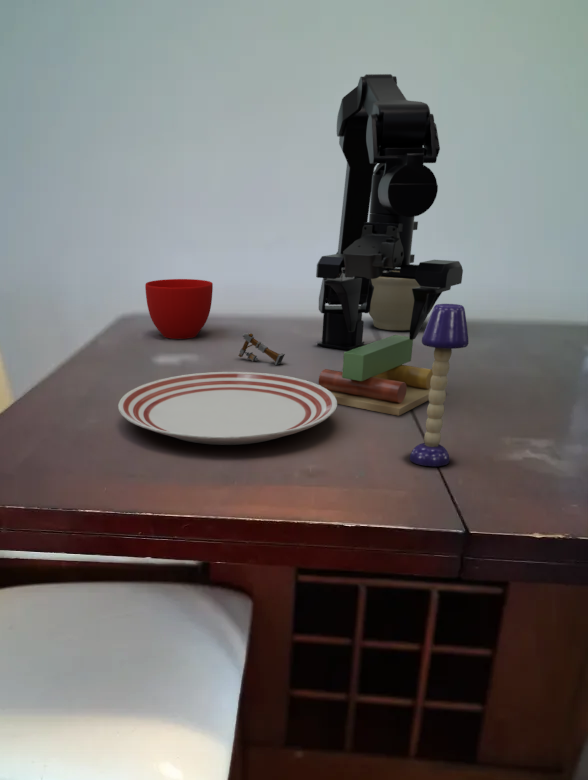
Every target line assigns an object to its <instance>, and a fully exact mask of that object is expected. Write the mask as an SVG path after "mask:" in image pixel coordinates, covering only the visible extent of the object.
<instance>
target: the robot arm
mask: <svg viewBox="0 0 588 780" xmlns="http://www.w3.org/2000/svg"><path fill="white" fill-rule="evenodd" d="M397 78H398V77H397V76H395V75H394V76H393V75H392V74H391V73H383V74H381V73H380V74H379V73H377V74H376V73H375V74H374V73H373V74H372V73H368V74H365V75H364V76H359V80H358V82H357V86H356V87H354V88H353V89H351V91H349V92H348V93H347V94H346V95H344V96H343V97H342V98H341V102H340V105H339V109H338V112H337V116H336V117H337V118H336V137H338V145H339V148H340V150H341V151H342V154H343V156H344V158H345V160H346V169H345V179H344V187H343V197H342V209H341V217H340V226H339V236H338V246H337V251H336V253H335V254H327V255H323V256H321V257H320V259H319V260H318V262H317V263H316V269H315V270H316V271H315V272H316V274H315V276H316V278H318V279H322V281H321V284H320V289H319V294H318V311H319V312H320V313H321V314H323V315H322V317H323V318H322V333H321V334H322V335H321V341H319V342H317V344H316V346H319V347H325V348H332V349H339V350H345V351H350V350H352V349H355V348H358V347H361V346H364V345H365V341H363V336H364V323H365V321H364V320H363V314H369V313H368V312H370V305H371V299H372V295H373V291H374V286H373V285H372V280H371V279H376V278H378V277H393V278H406V279H415V280H416V281H417V283H418V284H419V285H420V287H417V288H413V289H412V292H413V296H414V305H413V312H412V318H411V324H410V330H409V337H410V340H413V341H414V340H416V338H417V337H418V335H419V333H420V331H421V329H422V327H423V325H424V323H425V321H426V319H427V318H428V316H429V314H430V313H431V311H432V310H431V308H432V307H433V308H434V306H435V305H436V302H437V301H438V299H439V298H440V297H441V296H442V293H444V292H447V291H451V288H452V287H453V286H456V285H457V286H458V285H460V284H462V281H463V273H464V269H463V267H462V266H463V265H462V264H461V262H460V261H459V260H449V259H448V260H447V259H445V260H444V259H430V260H425V261H420V262H419V263H418V264H413V263H415V254H412V246H413V234H414V231H417V230H418V226H419V221H415V218H416V217H419V216H420V215H423V214H424V213H426V212H427V211H428V210H429V209H430V208H431V207H432V206H433V204H434V202H435V200H436V199H437V195H438V190H439V186H438V181H437V177H436V175H435V173H434V172H433V171H432V170H431V168H430V167H428V166H427V165H425V164H437V160H438V159H437V158H438V157H439V154H440V150H441V147H440V139H439V134H438V126H437V123H435V117H434V114H433V113H431V108H430V106H429V104H428V103H426V102H423V101H418V100H408V99H407V98H406V97H405V95H404V94H403V92H402V90H401V89H400V88H399V86H398V79H397ZM393 271H400V272H393ZM326 304H328V305H326ZM433 305H434V306H433ZM433 308H432V309H433ZM430 310H431V311H430ZM429 312H430V313H429Z"/></svg>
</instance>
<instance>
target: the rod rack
mask: <svg viewBox="0 0 588 780" xmlns="http://www.w3.org/2000/svg"><path fill="white" fill-rule="evenodd" d="M342 374H343V371H340V370H333V369H328V368H324V369H322V370H321V372H320V374H319V376H318V385H320V386H322V387H324V388H326V389H327V390H329V391H330V392H331V393H332V394H333V395H334V396H335V398H336V400H337V405H341V406H347V407H351V408H356V409H362V410H368V411H372V412H377V413H382V414H388V415H393V416H398V417H399V416H402V415H403V414H405V413H407V412H409V411H411V410H413V409H415V408H417V407H418V406H421V405H422V404H424V403H427V402H429V392H430V390H431V386H430V381H431V377H432V375H433V372H432V368H427V367H426V368H425V367H419V366H414V365H408V364H407V365H405V364H402V365H400V366H398V367H395V368H393V369H390V370H388V371H385V372H383V373H381V374H378V375H376V376H373V377H371V378H369V379H366V380H364V381H357V380H351V379H345V378H342Z"/></svg>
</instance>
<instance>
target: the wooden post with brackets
mask: <svg viewBox="0 0 588 780" xmlns="http://www.w3.org/2000/svg"><path fill="white" fill-rule="evenodd" d="M242 337H243V340H245V341H244V343H243V346H242V348H240V351H239V353H238V357H239V358H243V357H244V355H245V357H246V356H247V360H248V359H249V360H250V361H251V362H258V361H259V358H258V355H255V354H253V352H250V351H249V352H248V351H247V349H248V348H250V347H252V346H254V348H255V349H257V350H258V351H260V352H261V353H262V354H265V355H267V356H268V357H269V358H271V359H272V360H273V361H274V365H275V366H277V365H280V364H282V361H283V360H284V357H285V355H286V353H283V352H282V353H278V352H275V351H273V350H272V349H270V348H269V347H268V346H267V345H266V344H264V343H262V341H259V340H257V339H256V338H255V337H254V334H253V333H249V332H248V333H246V332H244V333H243V334H242ZM249 344H250V345H249Z"/></svg>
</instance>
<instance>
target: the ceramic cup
mask: <svg viewBox="0 0 588 780" xmlns="http://www.w3.org/2000/svg"><path fill="white" fill-rule="evenodd" d="M213 285H214V284H213V282H212V281H209V280H204V279H195V278H194V279H193V278H170V279H169V278H168V279H157V280H152V281H151V280H150V281H148V282H146V283H145V284H144V287H145V296H146V297H145V299H146V305H147V310H148V314H149V316H150V319H151V321H152V323H153V325H154V326H155V328H156V329H157V330H158V332H159V333H160V334H161V335H162V336H163V338H167V339H173V340H174V339H175V340H179V339H180V340H183V339H184V340H185V339H193V338H196V337H197V336H198V334H199V333H200V332H201V331H202V329H203V328H204V326H205V325H206V323H207V321H208V318H209V315H210V314H211V313H210V312H211V308H212V301H213V292H214V291H213V290H214V289H213V288H214V287H213Z"/></svg>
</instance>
